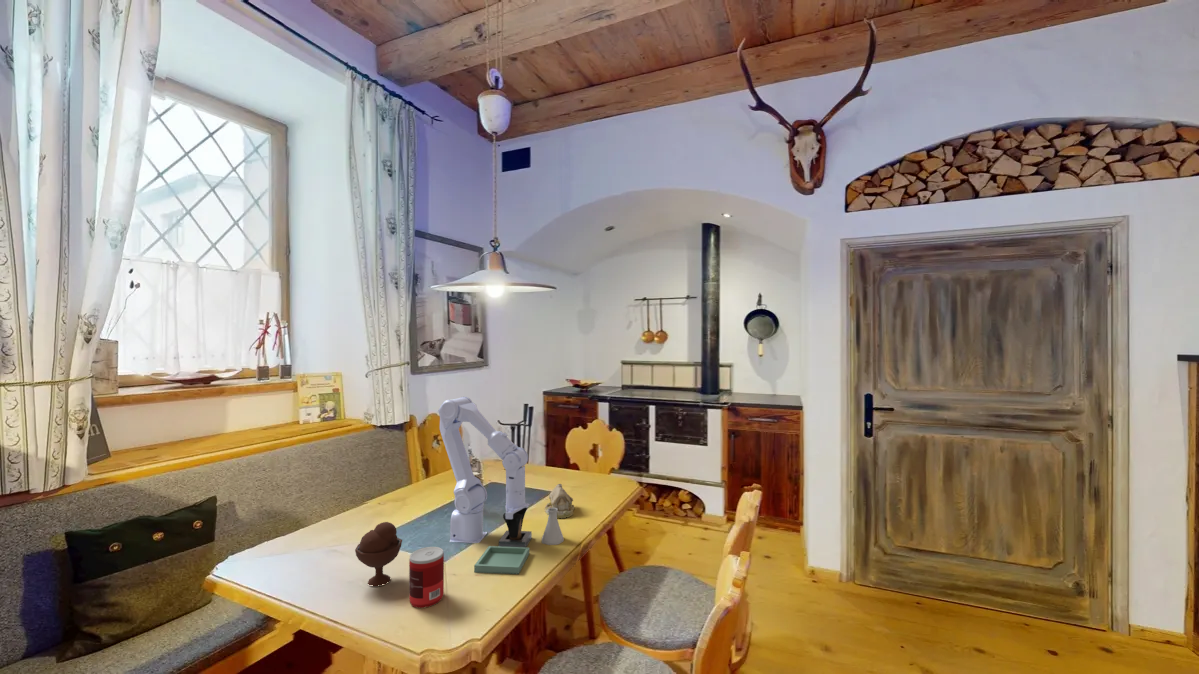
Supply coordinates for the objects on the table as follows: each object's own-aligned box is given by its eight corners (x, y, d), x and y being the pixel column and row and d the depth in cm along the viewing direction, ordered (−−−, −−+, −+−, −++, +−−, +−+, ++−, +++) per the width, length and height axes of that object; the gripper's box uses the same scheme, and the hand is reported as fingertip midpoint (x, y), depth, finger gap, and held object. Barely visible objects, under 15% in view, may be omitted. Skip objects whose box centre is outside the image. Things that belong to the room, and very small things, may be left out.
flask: (560, 547, 143) (560, 514, 143) (537, 545, 144) (537, 512, 144) (567, 538, 150) (567, 506, 150) (545, 536, 151) (545, 504, 151)
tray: (474, 574, 127) (474, 565, 127) (488, 553, 139) (488, 546, 139) (518, 576, 126) (518, 567, 126) (529, 555, 138) (529, 547, 138)
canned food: (447, 590, 119) (447, 546, 119) (437, 608, 111) (437, 560, 111) (416, 591, 118) (416, 546, 118) (404, 609, 110) (404, 561, 110)
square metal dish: (498, 549, 141) (498, 541, 142) (506, 538, 149) (506, 530, 149) (525, 550, 141) (525, 542, 141) (531, 539, 149) (531, 531, 149)
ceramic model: (542, 506, 179) (542, 479, 179) (572, 504, 181) (572, 477, 181) (546, 520, 165) (546, 491, 165) (578, 518, 167) (578, 489, 167)
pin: (508, 544, 144) (508, 517, 144) (511, 539, 147) (511, 513, 147) (519, 545, 143) (519, 518, 143) (522, 540, 147) (522, 514, 147)
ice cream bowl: (388, 567, 131) (388, 512, 131) (409, 580, 123) (410, 522, 124) (348, 582, 122) (348, 524, 122) (368, 597, 115) (368, 535, 115)
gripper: (522, 497, 138) (522, 545, 138) (533, 482, 152) (533, 525, 152) (498, 497, 138) (498, 544, 138) (512, 482, 153) (512, 524, 153)
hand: (515, 534), depth 145 cm, fingers closed on pin, 3 cm apart
